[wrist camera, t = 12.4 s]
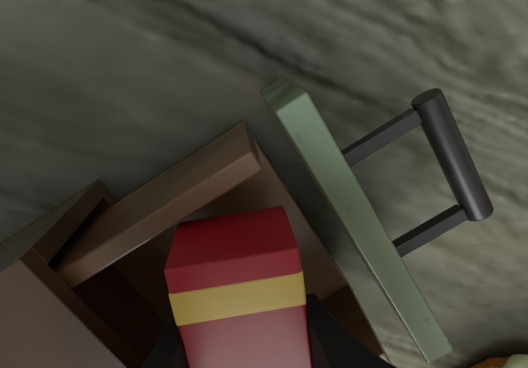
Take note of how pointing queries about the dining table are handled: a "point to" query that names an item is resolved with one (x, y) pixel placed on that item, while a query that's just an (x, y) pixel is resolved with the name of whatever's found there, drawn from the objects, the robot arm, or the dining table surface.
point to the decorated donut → (504, 362)
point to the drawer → (267, 196)
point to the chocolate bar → (239, 291)
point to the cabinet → (53, 296)
